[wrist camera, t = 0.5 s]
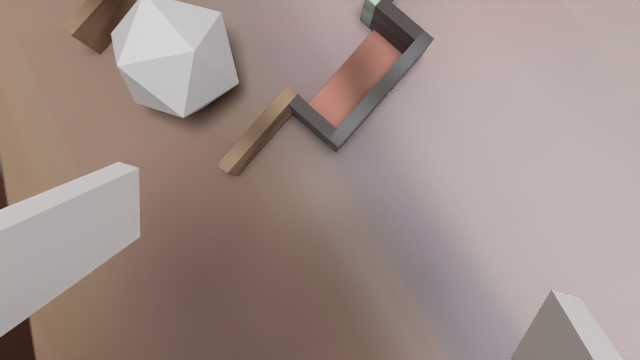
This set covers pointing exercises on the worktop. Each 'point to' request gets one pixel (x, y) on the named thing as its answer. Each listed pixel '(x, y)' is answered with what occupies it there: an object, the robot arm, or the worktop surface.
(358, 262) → the worktop surface
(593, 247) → the worktop surface
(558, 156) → the worktop surface
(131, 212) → the robot arm
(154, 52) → the die
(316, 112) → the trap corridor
